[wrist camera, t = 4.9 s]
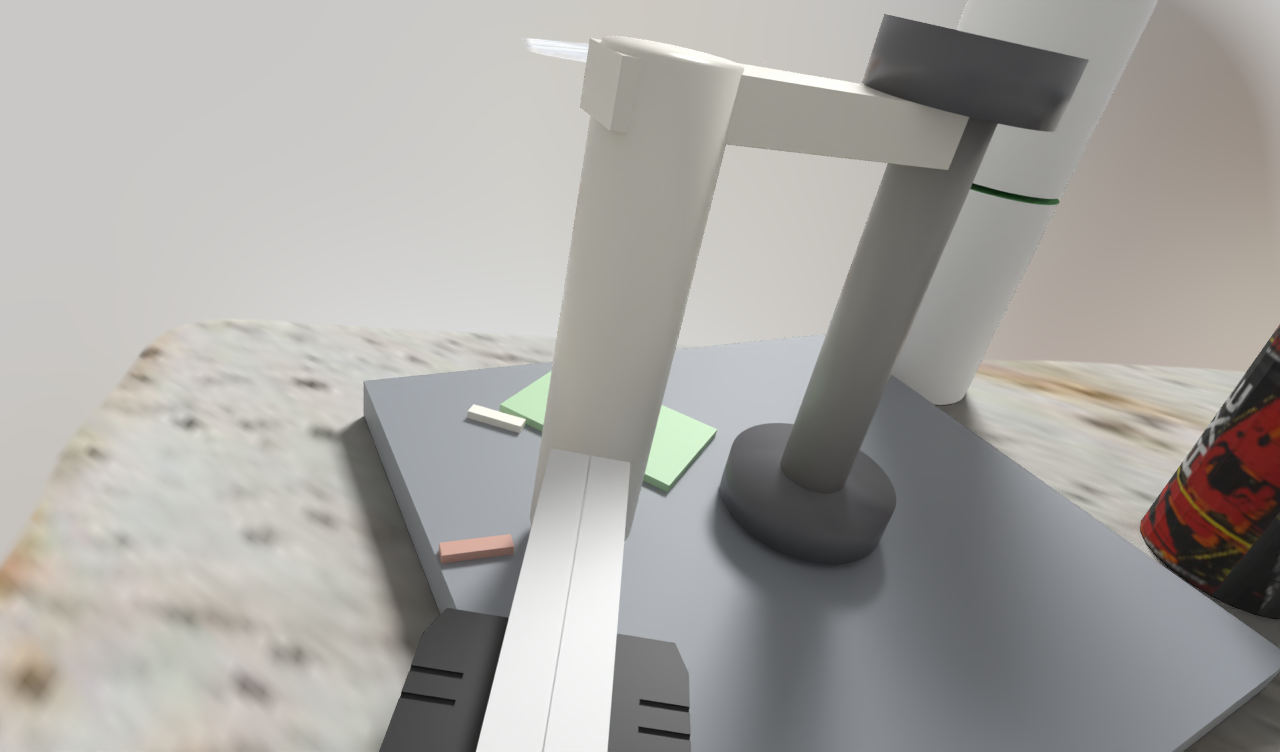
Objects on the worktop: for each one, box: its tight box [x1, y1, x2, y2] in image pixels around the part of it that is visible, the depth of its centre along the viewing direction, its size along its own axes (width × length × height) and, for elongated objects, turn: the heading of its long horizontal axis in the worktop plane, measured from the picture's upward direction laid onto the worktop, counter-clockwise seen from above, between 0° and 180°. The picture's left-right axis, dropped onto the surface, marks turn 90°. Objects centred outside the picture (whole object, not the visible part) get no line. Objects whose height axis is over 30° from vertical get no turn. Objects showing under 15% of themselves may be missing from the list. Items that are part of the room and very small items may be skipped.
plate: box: [364, 334, 1280, 752], centre depth 25 cm, size 24×22×2 cm
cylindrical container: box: [891, 0, 1158, 405], centre depth 34 cm, size 7×7×25 cm
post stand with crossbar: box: [530, 14, 1089, 564], centre depth 20 cm, size 12×6×15 cm, turn 112°
